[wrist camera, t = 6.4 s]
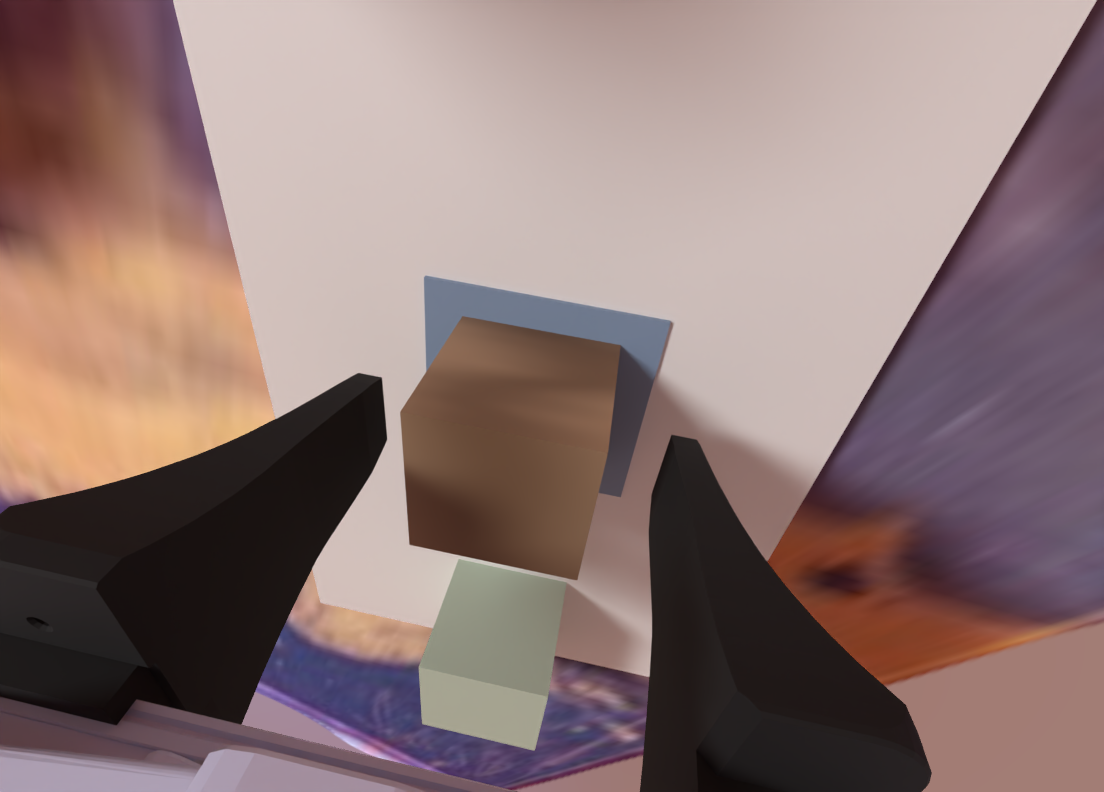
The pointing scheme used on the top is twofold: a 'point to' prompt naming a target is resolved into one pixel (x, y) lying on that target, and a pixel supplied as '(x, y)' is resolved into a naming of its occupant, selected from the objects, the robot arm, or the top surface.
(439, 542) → the walnut block
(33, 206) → the top surface
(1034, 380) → the top surface
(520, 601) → the sage block
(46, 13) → the top surface
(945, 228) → the white flat panel
